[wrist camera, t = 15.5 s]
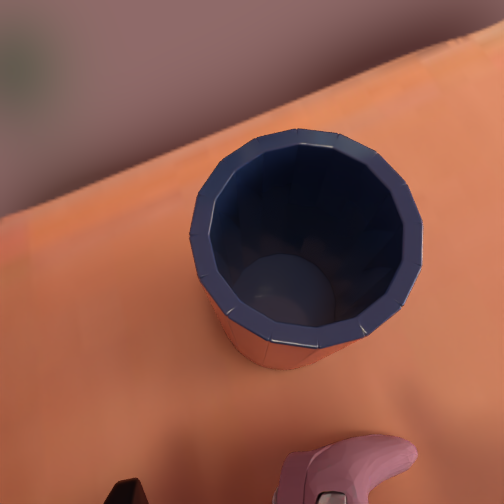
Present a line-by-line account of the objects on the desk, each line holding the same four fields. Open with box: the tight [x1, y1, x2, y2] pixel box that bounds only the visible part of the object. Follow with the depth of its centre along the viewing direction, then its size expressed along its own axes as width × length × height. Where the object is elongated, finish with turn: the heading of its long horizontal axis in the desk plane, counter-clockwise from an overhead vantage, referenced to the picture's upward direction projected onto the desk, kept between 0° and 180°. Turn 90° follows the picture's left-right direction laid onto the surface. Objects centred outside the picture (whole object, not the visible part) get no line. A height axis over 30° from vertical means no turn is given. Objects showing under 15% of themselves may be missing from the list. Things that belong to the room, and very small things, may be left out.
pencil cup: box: [189, 129, 423, 370], centre depth 15 cm, size 6×6×10 cm
